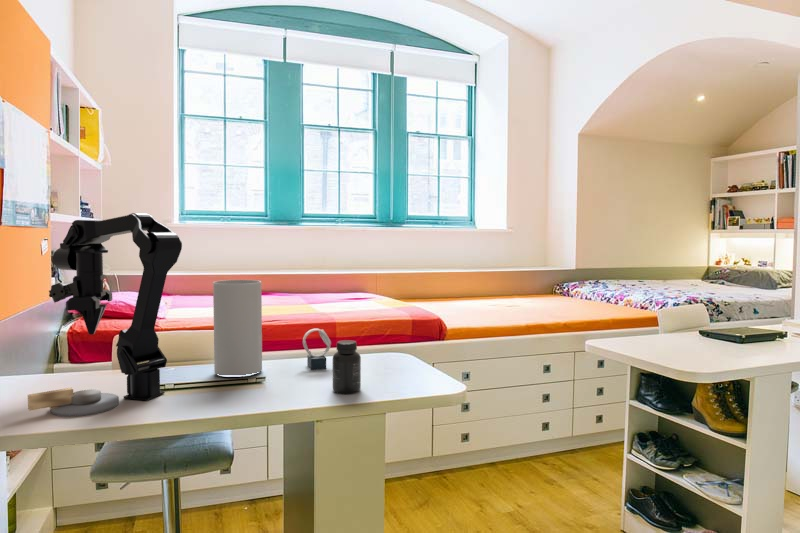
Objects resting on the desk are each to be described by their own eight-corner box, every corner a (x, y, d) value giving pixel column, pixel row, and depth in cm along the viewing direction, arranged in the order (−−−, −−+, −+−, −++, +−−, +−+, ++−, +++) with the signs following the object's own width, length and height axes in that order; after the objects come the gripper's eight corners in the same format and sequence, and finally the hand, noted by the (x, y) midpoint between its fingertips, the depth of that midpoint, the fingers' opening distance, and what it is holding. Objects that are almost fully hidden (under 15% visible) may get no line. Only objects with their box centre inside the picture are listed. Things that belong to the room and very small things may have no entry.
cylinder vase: (205, 377, 148) (203, 283, 146) (229, 366, 160) (228, 279, 158) (248, 380, 145) (247, 284, 143) (270, 369, 157) (269, 280, 155)
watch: (333, 368, 158) (333, 329, 158) (304, 370, 156) (304, 331, 155) (328, 363, 164) (328, 326, 163) (301, 365, 161) (301, 328, 160)
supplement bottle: (356, 385, 141) (356, 338, 140) (363, 393, 134) (363, 343, 133) (330, 387, 138) (330, 340, 138) (335, 395, 132) (335, 345, 131)
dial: (96, 394, 127) (96, 380, 126) (104, 400, 122) (104, 386, 122) (26, 407, 117) (25, 392, 117) (31, 414, 113) (31, 398, 113)
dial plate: (132, 400, 127) (131, 394, 127) (87, 419, 115) (87, 412, 114) (84, 396, 130) (84, 390, 130) (35, 413, 118) (35, 407, 118)
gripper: (64, 269, 144) (66, 329, 144) (39, 274, 126) (41, 343, 127) (112, 268, 147) (113, 327, 148) (94, 274, 129) (96, 340, 130)
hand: (91, 334), depth 138 cm, fingers closed
